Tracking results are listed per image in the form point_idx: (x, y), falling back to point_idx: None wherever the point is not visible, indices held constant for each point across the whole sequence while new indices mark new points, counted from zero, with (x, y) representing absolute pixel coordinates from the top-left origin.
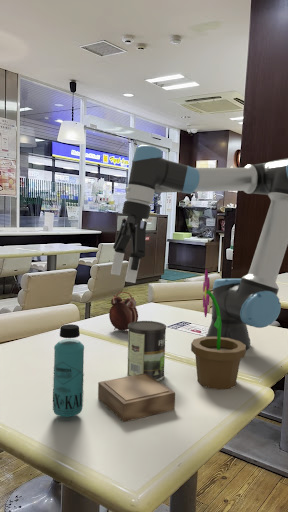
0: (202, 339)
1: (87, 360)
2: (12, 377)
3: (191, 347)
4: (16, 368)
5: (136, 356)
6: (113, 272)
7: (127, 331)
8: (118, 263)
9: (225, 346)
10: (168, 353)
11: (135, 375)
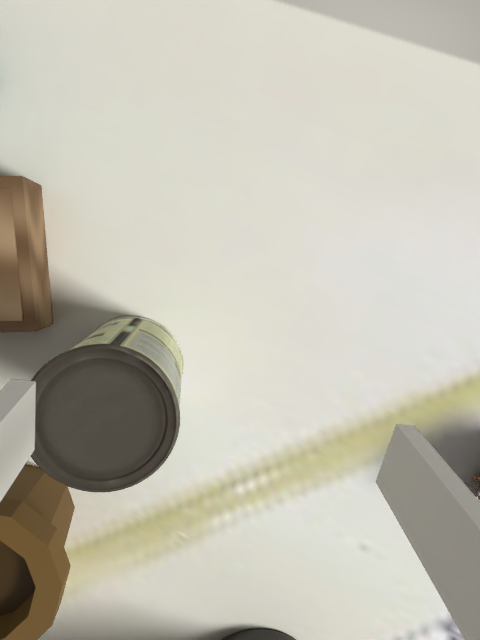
0: (36, 571)
1: (307, 269)
2: (273, 24)
3: (14, 507)
4: (335, 56)
5: (88, 336)
6: (399, 447)
7: (476, 478)
8: (432, 531)
9: (10, 616)
10: (260, 501)
11: (30, 296)
